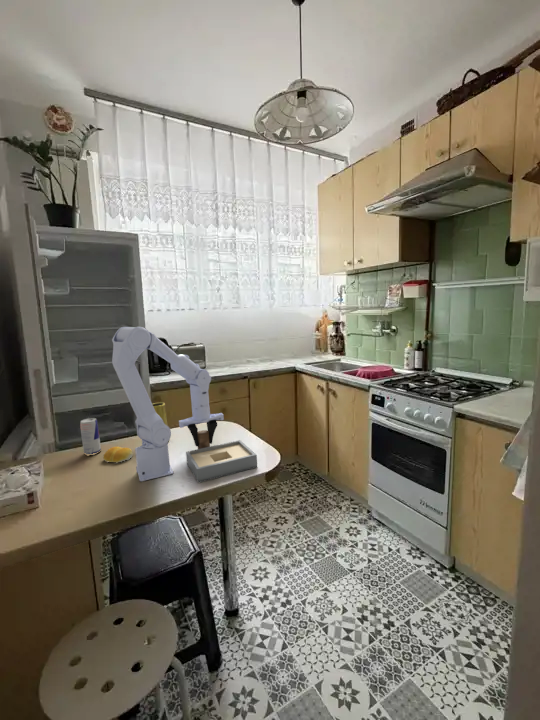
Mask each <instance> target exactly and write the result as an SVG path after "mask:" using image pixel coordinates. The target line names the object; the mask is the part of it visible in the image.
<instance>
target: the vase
mask: <svg viewBox="0 0 540 720" xmlns="http://www.w3.org/2000/svg"><path fill="white" fill-rule="evenodd" d="M152 405H153V407H154V409H155V412H156V413H157V414H158V415H159V416H160V417H161V418H162V420H163V422H164V424H165V425H167V426H168V421H167V420H168V419H167V418H168V417H167V411H166V403H165V402H161V401H160V402H159V401H158V402H155V403H152ZM170 440H171V438H170V439H169V441H170Z"/></svg>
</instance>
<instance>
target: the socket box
mask: <svg viewBox="0 0 540 720" xmlns="http://www.w3.org/2000/svg"><path fill="white" fill-rule="evenodd" d="M185 456H186V465H187V466H188V468H189V469H190V471H191V473H192V475H193V476H194V478H195V480H196V481H197V483H202V482H206V481H210V480H214V479H218V478H222V477H225V476H230V475H234V474H237V473H241V472H244V471H249V470H253V469H256V468H255V467H257V468H258V456H257V453H256V452H254V451H253V450H252V449H250V447H248V446H247V445H246V444H245V443H244V442H243V441H242V440H240V439H239V440H233V441H230V442H225V443H219V444H215V445H210V447H206V448H201V449H198V448H197V449H193V450H188V451H185ZM252 468H253V469H252ZM248 469H249V470H248Z"/></svg>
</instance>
